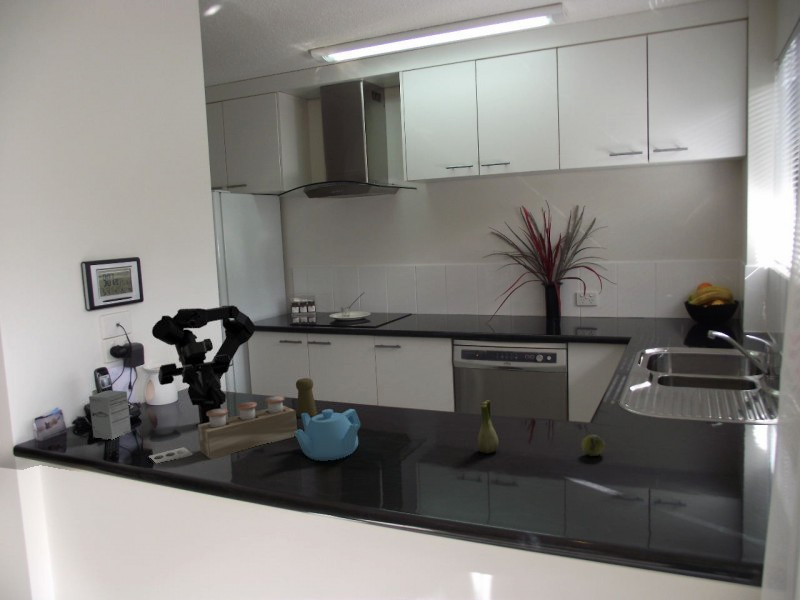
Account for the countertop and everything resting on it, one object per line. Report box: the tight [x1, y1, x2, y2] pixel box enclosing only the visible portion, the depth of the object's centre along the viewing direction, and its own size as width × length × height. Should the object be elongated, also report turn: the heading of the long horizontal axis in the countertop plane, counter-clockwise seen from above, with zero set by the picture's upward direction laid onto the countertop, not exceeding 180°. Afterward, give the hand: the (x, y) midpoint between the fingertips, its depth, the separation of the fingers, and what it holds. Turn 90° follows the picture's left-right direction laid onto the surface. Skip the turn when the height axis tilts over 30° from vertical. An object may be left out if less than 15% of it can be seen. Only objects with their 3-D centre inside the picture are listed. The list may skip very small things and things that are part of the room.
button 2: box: [264, 395, 285, 415], centre depth 169 cm, size 5×5×5 cm
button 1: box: [206, 408, 228, 429], centre depth 160 cm, size 5×5×5 cm
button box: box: [197, 404, 298, 460], centre depth 165 cm, size 8×24×7 cm, turn 126°
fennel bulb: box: [477, 400, 500, 454], centre depth 147 cm, size 6×5×12 cm
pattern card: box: [148, 446, 193, 464], centre depth 159 cm, size 7×9×1 cm
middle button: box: [236, 401, 258, 421], centre depth 164 cm, size 5×5×5 cm
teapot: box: [294, 408, 362, 462], centre depth 153 cm, size 15×15×11 cm
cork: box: [295, 377, 318, 418], centre depth 189 cm, size 6×6×11 cm
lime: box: [580, 434, 606, 457], centre depth 140 cm, size 4×5×5 cm
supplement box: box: [88, 390, 132, 441], centre depth 180 cm, size 7×7×13 cm
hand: (204, 394), depth 166 cm, fingers closed
